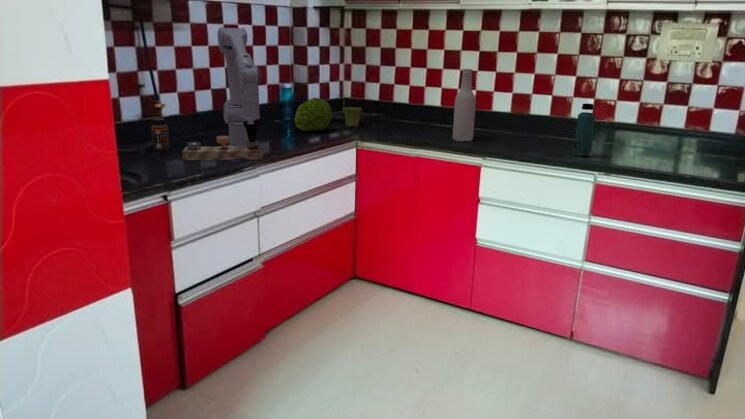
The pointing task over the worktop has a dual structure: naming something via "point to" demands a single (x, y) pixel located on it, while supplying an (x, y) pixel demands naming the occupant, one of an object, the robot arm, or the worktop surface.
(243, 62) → the robot arm
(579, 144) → the beverage bottle
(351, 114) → the plant pot
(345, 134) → the worktop surface
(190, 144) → the knob
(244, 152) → the knob bar
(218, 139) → the pot knob
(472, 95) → the alcohol
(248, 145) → the knob
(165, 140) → the supplement bottle
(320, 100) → the lettuce
